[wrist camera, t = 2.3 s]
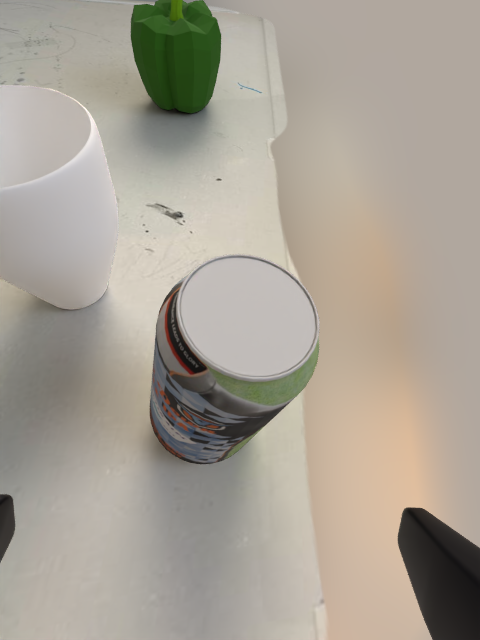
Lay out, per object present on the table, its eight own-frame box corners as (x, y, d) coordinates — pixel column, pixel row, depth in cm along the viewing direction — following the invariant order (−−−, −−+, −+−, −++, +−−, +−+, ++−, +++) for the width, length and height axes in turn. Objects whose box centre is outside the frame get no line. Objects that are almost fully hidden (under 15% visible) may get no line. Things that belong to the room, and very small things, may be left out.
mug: (131, 335, 24) (81, 196, 15) (-1, 337, 24) (-147, 191, 14) (145, 208, 31) (115, 52, 21) (40, 207, 30) (-41, 43, 20)
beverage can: (150, 374, 23) (105, 239, 13) (264, 359, 24) (306, 224, 14) (156, 481, 20) (103, 415, 10) (287, 458, 21) (362, 378, 11)
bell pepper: (182, 134, 36) (173, 8, 28) (125, 100, 39) (102, -26, 30) (237, 103, 40) (245, -17, 31) (182, 73, 42) (176, -45, 34)
